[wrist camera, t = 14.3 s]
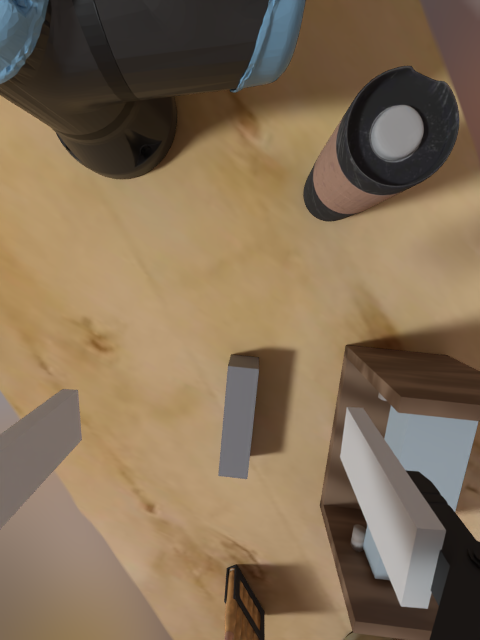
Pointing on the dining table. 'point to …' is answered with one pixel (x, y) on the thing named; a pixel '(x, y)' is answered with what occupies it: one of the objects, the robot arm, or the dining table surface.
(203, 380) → the dining table surface
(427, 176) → the travel mug
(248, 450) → the grey rectangular block
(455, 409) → the shelf frame
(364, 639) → the planter bowl
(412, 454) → the shelf board
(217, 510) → the dining table surface
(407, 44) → the dining table surface
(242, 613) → the ammunition clip
